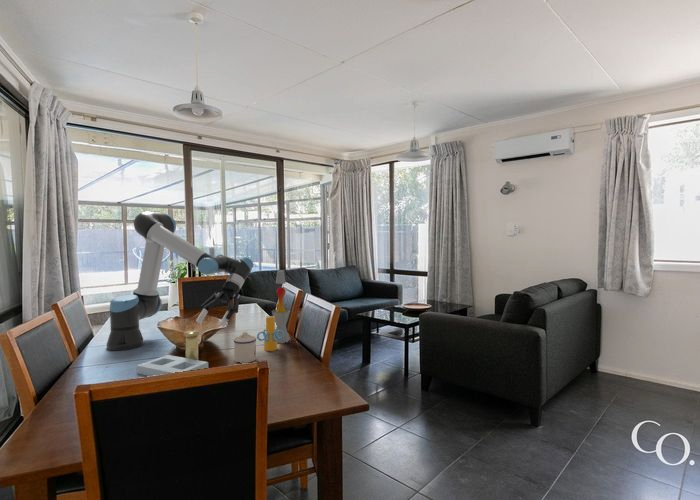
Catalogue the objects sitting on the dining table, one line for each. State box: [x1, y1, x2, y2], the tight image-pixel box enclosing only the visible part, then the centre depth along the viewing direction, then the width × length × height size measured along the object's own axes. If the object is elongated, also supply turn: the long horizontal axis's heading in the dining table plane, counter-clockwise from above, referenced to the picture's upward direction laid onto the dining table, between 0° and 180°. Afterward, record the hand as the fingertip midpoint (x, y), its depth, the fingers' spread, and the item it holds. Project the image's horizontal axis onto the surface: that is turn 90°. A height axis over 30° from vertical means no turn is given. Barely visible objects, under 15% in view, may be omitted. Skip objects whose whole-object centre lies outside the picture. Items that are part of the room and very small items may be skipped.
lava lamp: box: [271, 269, 291, 344], centre depth 188 cm, size 9×9×35 cm
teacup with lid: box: [233, 331, 257, 364], centre depth 161 cm, size 12×9×12 cm
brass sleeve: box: [182, 330, 201, 360], centre depth 158 cm, size 6×6×12 cm
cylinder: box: [256, 315, 284, 352], centre depth 174 cm, size 12×10×15 cm
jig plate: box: [136, 354, 209, 377], centre depth 146 cm, size 22×14×3 cm, turn 65°
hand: (209, 323), depth 166 cm, fingers open, 13 cm apart
